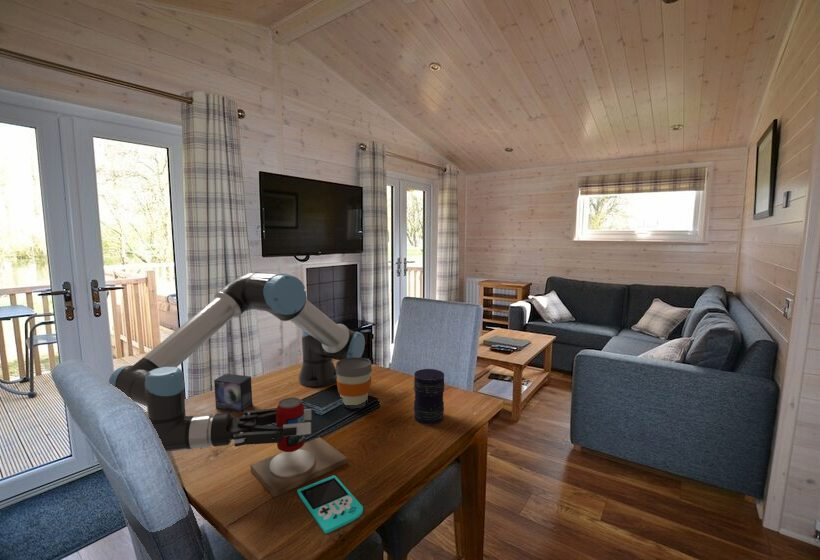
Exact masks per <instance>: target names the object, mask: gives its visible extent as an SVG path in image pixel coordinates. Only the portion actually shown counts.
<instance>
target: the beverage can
mask: <svg viewBox="0 0 820 560" xmlns="http://www.w3.org/2000/svg"><path fill="white" fill-rule="evenodd" d="M275 408H276V424H275V426H276V427H282V428H283V425H285V424H295V423H305V420H304V409H305V406H304V404H303V402H302V400H301V399H300V398H298V397H286V398H282V399H281V400H280V401H279V402H278V405H277V407H275ZM305 436H306V434H305V435H295V436H285V437H283V441H281V442H278V443H276V447H277V449H278V450H279V451H281V452H294V451H296V450H298V449H300V448H301V447H302V446H303V445H304V443H306V442H305V441H306V440H305Z"/></svg>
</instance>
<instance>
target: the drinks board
mask: <svg viewBox="0 0 820 560" xmlns="http://www.w3.org/2000/svg"><path fill="white" fill-rule="evenodd" d="M347 463H348V457H347V456H346V455H345V454H343V453H341V452H340V451H339V450H338V449H336V448H335V447H333V446H332V445H331V444H330V443H328V442H327V441H325V440H324V439H323V438H322V437H320V436H319V437H317V438H315V439H314V438H313V439H311V440H309V441H306V442H305V443H304V445H303V446H302V447H301V448H300V449H298V450H296V451H294V452H284V451H281V452H279V453H276V454H274V455H271V456H268V457H266V458H264V459H262V460H258V461H256V462H254V463H251V464H250V471H251V473H252V474H253V475H255V477H256V478H257V479H258V481H260V482H261V484H262V485H263V486H264V487H265V488H266V490H267V491H268V492H269V493H270V494H271V496H273V497H274V498H276V497H278V496H282V494H285V493H287V492H290V491H291V490H293V489H296V488H297V487H299V486H302V485H304V484H305V483H306V484H307V483H308V482H310V481H312V480H314V479H316V478H318V477H321V476H323V475H325V474H326V473H329V472H331V471H333V470H335V469H338V468H340V467H341V466H344V465H346V464H347Z"/></svg>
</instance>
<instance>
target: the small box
mask: <svg viewBox="0 0 820 560" xmlns="http://www.w3.org/2000/svg"><path fill="white" fill-rule="evenodd" d="M213 380H214V381H213V382H214V397H215V398H214V399H215V409H218V410H226V411H233V412H239V413H242V412H243V413H244V411H247V409H249V408H250V407H251V406H253V390H252V376H249V375H240V374H233V373H224V374H223V375H220V376H219V377H217V378H216V379H213Z"/></svg>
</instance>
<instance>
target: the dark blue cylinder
mask: <svg viewBox="0 0 820 560" xmlns="http://www.w3.org/2000/svg"><path fill="white" fill-rule="evenodd" d="M413 376H414V378H413V379H414V382H413V385H414V386H413V389H414V402H413V403H414V404H413V414H414V415H413V420H414V421H415V422H416V423H418V424H420V425H423V426H435V425H439V424H441V423H442V422H443V421H444V412H445V407H444V406H445V405H444V402H445V401H444V392H445V373H444V372H443V371H442V370H439V369H435V368H423V369H419V370H416V371H415V372H414V375H413Z"/></svg>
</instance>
